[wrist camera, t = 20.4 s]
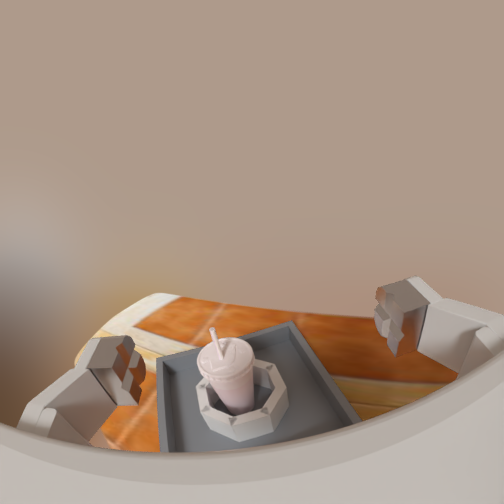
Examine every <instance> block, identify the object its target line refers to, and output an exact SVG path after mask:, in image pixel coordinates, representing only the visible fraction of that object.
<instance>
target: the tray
mask: <svg viewBox="0 0 504 504" xmlns="http://www.w3.org/2000/svg"><path fill="white" fill-rule="evenodd" d="M237 338H239V339H242V340H244V341H246V342H247V343H249V344H250V346H251V347H252V350H253V353H254V356H255V362H254V365H253V384H254V402H255V404H254V407H253V409H252V410H251V411H250V412H248V413H245V414H241V415H235V414H232V413H231V412H230V411H229V410H228V409H227V407H226V406H225V405H224V403H223V402H222V400H221V399H220V397H219V396H218V394H217V393H216V391H215V390H214V388H213V387H212V385H211V384H210V382H209V381H208V379H206V378H204V377H203V376H202V375H201V373H200V371H199V367H198V365H197V357H198V354H199V353H200V351H201V350H202V349H203V348H204V347H205V346H204V347H200V348H197V349H193V350H189V351H185V352H180V353H176V354H172V355H168V356H163V357H159V358H156V369H157V409H158V428H159V442H160V452H166V453H182V452H209V451H223V450H233V449H242V448H250V447H257V446H264V445H270V444H276V443H282V442H287V441H292V440H297V439H301V438H306V437H310V436H314V435H318V434H322V433H326V432H329V431H333V430H337V429H340V428H343V427H347V426H350V425H353V424H356V423H359V422H362V420H361V419H360V417H359V416H358V414H357V413H356V411H355V410H354V409H353V407H352V406H351V404H350V403H349V402H348V400H347V399H346V397H345V396H344V394H343V393H342V392H341V390H340V389H339V387H338V386H337V384H336V383H335V382H334V380H333V379H332V377H331V376H330V375H329V373H328V372H327V370H326V369H325V367H324V366H323V365H322V363H321V362H320V360H319V359H318V357H317V356H316V355H315V353H314V352H313V350H312V349H311V347H310V346H309V345H308V343H307V342H306V340H305V339H304V337H303V336H302V334H301V333H300V332H299V330H298V329H297V327H296V326H295V324H294V323H293V322H292V320H291V321H288V322H285V323H282V324H279V325H276V326H273V327H270V328H267V329H264V330H260V331H257V332H254V333H250V334H247V335H244V336H240V337H237Z"/></svg>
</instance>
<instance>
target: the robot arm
mask: <svg viewBox="0 0 504 504" xmlns="http://www.w3.org/2000/svg"><path fill="white" fill-rule="evenodd" d="M376 300H377V301H378V302H379V304H378V305H377V307H376V309H375V316H374V319H375V324H376V327H377V330H378V332H379V333H380V335H381V336H383V337H385V338H388V340H387V345H388V347H389V348H390V350H391V351H392V353H393V354H394V356H395V357H398V356H401V355H404V354H407V353H409V352H412V351H415V350H417V351H418V352H420V353H422V354H424V355H426V356H428V357H429V358H431V359H433V360H435V361H437V362H438V363H440V364H442V365H444V366H446V367H448V368H449V369H451V370H453V371H455V372H457V373H459V374H458V376H457V378H456V380H455V381H453V382H452V383H450V384H448V385H446V386H444V387H442V388H440V389H438V390H436V391H434V392H432V393H430V394H428V395H426V396H424V397H422V398H420V399H418V400H415V401H413V402H411V403H409V404H406V405H404V406H402V407H399V408H397V409H394V410H392V411H389V412H387V413H384V414H382V415H379V416H376V417H374V418H371V419H368V420H365V421H362V422H359V423H356V424H353V425H350V426H347V427H343V428H340V429H337V430H333V431H329V432H326V433H322V434H318V435H314V436H310V437H306V438H301V439H297V440H292V441H287V442H282V443H276V444H270V445H264V446H257V447H250V448H242V449H233V450H223V451H209V452H182V453H166V452H140V451H126V450H116V449H107V448H100V447H94V446H92V445H91V444H90V443H89V440H90V439H91V438H92V437H93V436H94V434H95V433H96V432H97V430H98V429H99V428H100V427H101V426H102V425H103V423H104V422H105V421H106V420H107V419H108V417H109V416H110V415H111V414H112V413H113V411H114V410H115V409H116V408H117V406H124V405H138V404H139V400H140V396H141V392H142V389H141V388H140V386H139V385H140V384H141V383H142V382H143V381H144V380H145V376H146V367H145V363H144V360H143V358H142V356H141V354H140V353H138V352H137V351H135V350H134V348H135V343H134V341H133V340H132V338H131V337H130V336H128V335H125V336H112V337H100V338H92V339H90V340H89V341H88V343H87V345H86V347H85V349H84V351H83V353H82V355H81V356H80V358H79V360H78V362H77V364H76V366H75V368H74V369H70V370H69V371H68V372H67V373H66V374H64V375H63V376H61V377H60V378H59V379H58V380H57V381H55V382H54V383H53V384H51V385H50V386H49V387H48V388H46V389H45V390H44V391H43V392H41V393H40V394H39V395H38V396H36V397H35V398H34V399H33V400H31V401H30V402H29V403H28V404H27V406H26V408H25V410H24V412H23V414H22V417H21V419H20V421H19V423H18V426H17V427H16V428H14V427H11V426H8V425H5V424H3V423H0V504H504V315H503V314H499V313H496V312H492V311H489V310H486V309H483V308H479V307H476V306H473V305H469V304H466V303H462V302H459V301H456V300H453V299H449V298H445V299H443V298H442V297H441V296H440V295H439V294H438V293H436V292H435V291H434V290H433V289H432V288H431V287H430V286H429V285H428V284H426V283H425V282H424V281H423V280H422V279H421V278H420V277H418V276H413V277H410V278H407V279H404V280H402V281H399V282H395V283H392V284H389V285H385V286H382V287H378V289H377V291H376Z"/></svg>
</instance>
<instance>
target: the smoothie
mask: <svg viewBox="0 0 504 504" xmlns="http://www.w3.org/2000/svg"><path fill="white" fill-rule="evenodd" d="M209 330H210V333H211V336H212V339H213V341H212V342H211V343H209V344H207V345H206V346H205V347H204V348H203V349H202V350H201V351H200V353H199V354H198V357H197V365H198V367H199V371H200V373H201V375H202V376H203V377H204V378H206V379H208V381H209V382H210V384H211V385H212V387H213V388H214V390H215V391H216V393H217V394H218V396H219V397H220V399H221V400H222V402H223V403H224V405H225V406H226V407H227V409H228V410H229V411H230V412H231V413H232V414H235V415H241V414H245V413H248V412H250V411H251V410H252V409H253V407H254V404H255V402H254V384H253V365H254V362H255V356H254V353H253V350H252V347H251V346H250V344H249V343H247V342H246V341H244V340H242V339H239V338H233V337H228V338H221V339H218V337H217V334H216V331H215V328H210V329H209Z"/></svg>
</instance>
